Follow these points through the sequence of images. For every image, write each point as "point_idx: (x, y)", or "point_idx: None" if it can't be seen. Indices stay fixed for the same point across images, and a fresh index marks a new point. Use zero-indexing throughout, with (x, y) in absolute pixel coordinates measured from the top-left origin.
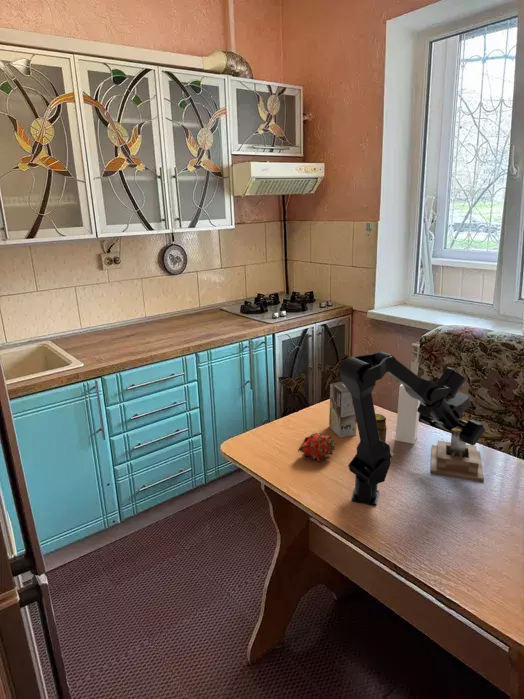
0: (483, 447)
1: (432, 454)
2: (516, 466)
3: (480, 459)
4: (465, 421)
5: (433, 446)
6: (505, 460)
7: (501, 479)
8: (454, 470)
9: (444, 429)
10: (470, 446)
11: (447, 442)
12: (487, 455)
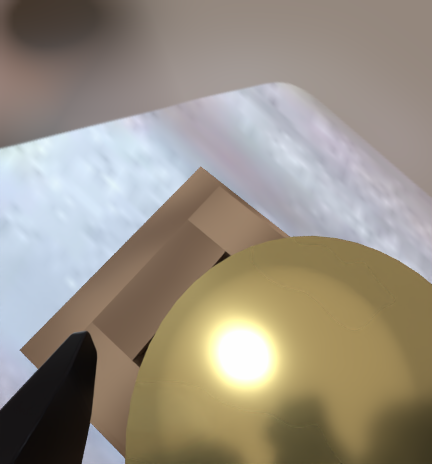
0: (155, 113)
1: (114, 437)
2: (328, 117)
3: (260, 217)
4: (268, 253)
5: (39, 354)
6: (277, 117)
7: (403, 245)
8: None
9: (78, 459)
10: (211, 220)
11: (105, 321)
12: (217, 148)
